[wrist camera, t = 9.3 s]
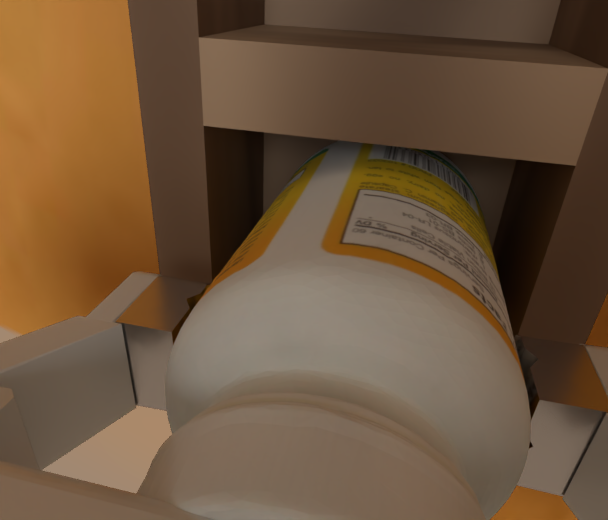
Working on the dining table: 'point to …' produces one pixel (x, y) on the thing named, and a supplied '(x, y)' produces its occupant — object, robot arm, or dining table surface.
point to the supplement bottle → (350, 356)
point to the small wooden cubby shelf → (386, 124)
